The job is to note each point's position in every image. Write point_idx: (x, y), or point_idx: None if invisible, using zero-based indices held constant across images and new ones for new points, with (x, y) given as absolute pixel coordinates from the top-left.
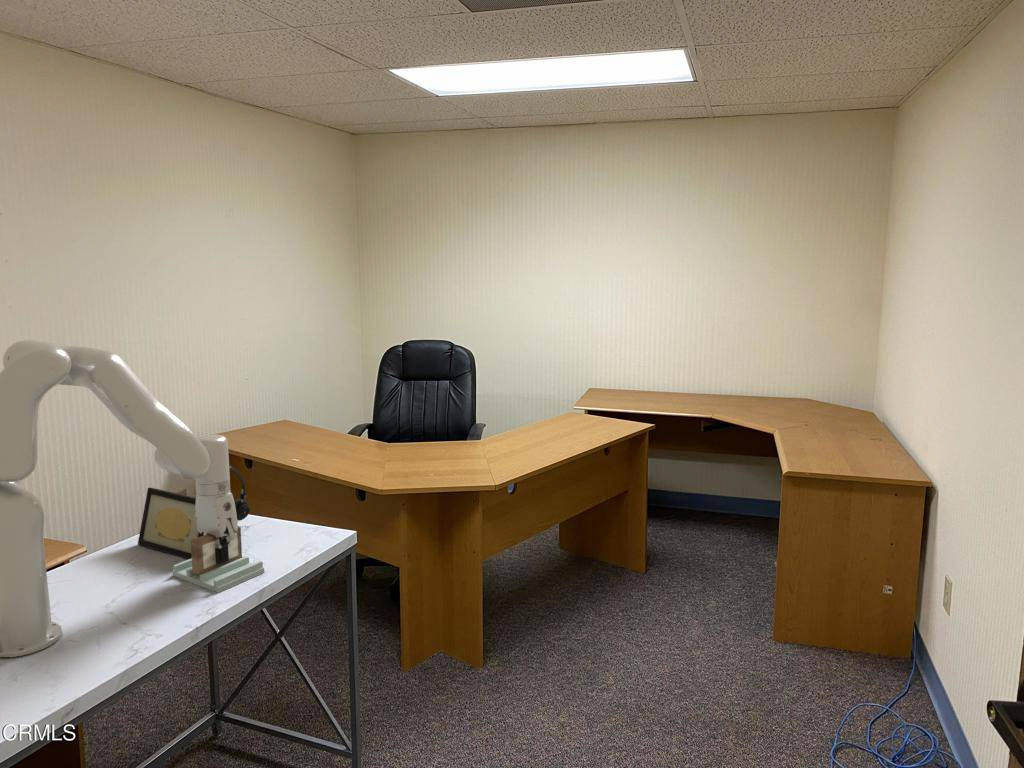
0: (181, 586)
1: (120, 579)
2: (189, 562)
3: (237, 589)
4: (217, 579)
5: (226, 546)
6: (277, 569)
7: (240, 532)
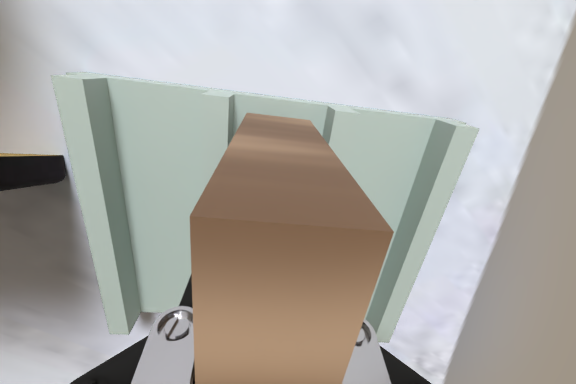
0: None
1: (17, 370)
2: (123, 279)
3: (425, 268)
4: (384, 334)
5: None
6: (497, 54)
7: (360, 192)
